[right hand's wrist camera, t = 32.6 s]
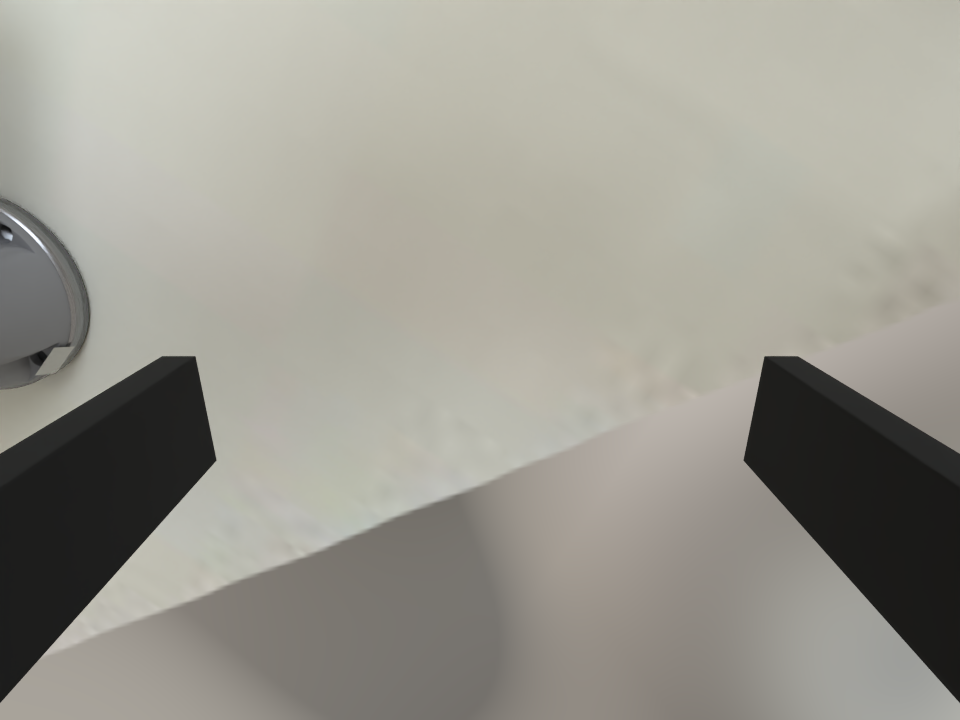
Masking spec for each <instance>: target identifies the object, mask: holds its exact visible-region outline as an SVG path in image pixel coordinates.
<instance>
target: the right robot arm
mask: <svg viewBox="0 0 960 720" xmlns="http://www.w3.org/2000/svg"><path fill="white" fill-rule="evenodd" d="M88 321H89V307H88V299H87V294H86V290H85V287H84V283H83V281H82V278H81V276H80V273H79V271H78V269H77V267H76V265H75V263H74V261H73V260H72V258H71V256H70V255H69V253H68V252H67V250H66V249H65V248H64V246H63V245H62V244H61V243H60V241H59V240H58V239H57V238H56V237H55V235H54V234H53V233H52V232H51V231H50V230H49V229H48V228H47V227H46V226H44V225H43V224H42V223H41V222H40V221H39V220H38V219H36V218H35V217H34V216H32V215H31V214H30V213H28V212H27V211H25V210H24V209H22V208H20V207H19V206H17V205H15V204H13V203H12V202H10V201H8V200H6V199H3V198H1V197H0V390H1V389H12V388H18V387H22V386H26V385H29V384H32V383H34V382H36V381H38V380H40V379H42V378H44V377H46V376H48V375H50V374H54V373H56V372H57V371H58V370H60V369H61V368H63V367H64V366H65V365H67V364H68V363H69V362H70V361H71V360H72V359H73V358H74V357H75V355H76V354H77V353H78V351H79V350H80V348H81V346H82V344H83V342H84V339H85V336H86V333H87V328H88ZM215 461H216V456H215V451H214V446H213V441H212V436H211V431H210V426H209V421H208V416H207V412H206V407H205V402H204V397H203V392H202V387H201V382H200V377H199V372H198V367H197V362H196V357H195V356H162V357H160V358H159V359H157V360H155V361H154V362H152V363H150V364H149V365H147V366H145V367H144V368H142V369H140V370H139V371H137V372H135V373H134V374H132V375H130V376H129V377H127V378H125V379H124V380H122V381H121V382H119V383H117V384H116V385H114V386H112V387H111V388H109V389H107V390H106V391H104V392H102V393H101V394H99V395H97V396H96V397H94V398H92V399H91V400H89V401H87V402H86V403H84V404H82V405H81V406H79V407H77V408H76V409H74V410H72V411H71V412H69V413H67V414H66V415H64V416H62V417H61V418H59V419H57V420H56V421H54V422H52V423H51V424H49V425H47V426H46V427H44V428H42V429H41V430H39V431H37V432H36V433H34V434H33V435H31V436H29V437H28V438H26V439H24V440H23V441H21V442H19V443H18V444H16V445H14V446H13V447H11V448H9V449H8V450H6V451H4V452H3V453H1V454H0V702H1V701H2V700H3V699H4V698H5V697H6V696H7V695H8V693H9V692H10V691H11V690H12V689H13V688H14V687H15V686H16V684H17V683H18V682H19V681H20V680H21V679H22V678H23V677H24V676H25V674H26V673H27V672H28V671H29V670H30V669H31V668H32V666H33V665H34V664H35V663H36V662H37V661H38V660H39V659H40V658H41V656H42V655H43V654H44V653H45V652H46V651H47V650H48V649H49V648H50V646H51V645H52V644H53V643H54V642H55V641H56V640H57V639H58V637H59V636H60V635H61V634H62V633H63V632H64V631H65V630H66V628H67V627H68V626H69V625H70V624H71V623H72V622H73V621H74V619H75V618H76V617H77V616H78V615H79V614H80V613H81V612H82V611H83V609H84V608H85V607H86V606H87V605H88V604H89V603H90V602H91V600H92V599H93V598H94V597H95V596H96V595H97V594H98V593H99V591H100V590H101V589H102V588H103V587H104V586H105V585H106V584H107V583H108V581H109V580H110V579H111V578H112V577H113V576H114V575H115V574H116V572H117V571H118V570H119V569H120V568H121V567H122V566H123V565H124V563H125V562H126V561H127V560H128V559H129V558H130V557H131V556H132V554H133V553H134V552H135V551H136V550H137V549H138V548H139V547H140V546H141V544H142V543H143V542H144V541H145V540H146V539H147V538H148V537H149V535H150V534H151V533H152V532H153V531H154V530H155V529H156V528H157V526H158V525H159V524H160V523H161V522H162V521H163V520H164V519H165V518H166V516H167V515H168V514H169V513H170V512H171V511H172V510H173V509H174V507H175V506H176V505H177V504H178V503H179V502H180V501H181V500H182V498H183V497H184V496H185V495H186V494H187V493H188V492H189V491H190V489H191V488H192V487H193V486H194V485H195V484H196V483H197V482H198V481H199V479H200V478H201V477H202V476H203V475H204V474H205V473H206V472H207V470H208V469H209V468H210V467H211V466H212V465H213V464H214V463H215ZM744 461H745V463H746V464H747V465H748V466H749V467H750V468H751V469H752V470H753V472H754V473H755V474H756V475H757V476H758V477H759V478H760V479H761V481H762V482H763V483H764V484H765V485H766V486H767V487H768V488H769V489H770V491H771V492H772V493H773V494H774V495H775V496H776V497H777V498H778V500H779V501H780V502H781V503H782V504H783V505H784V506H785V507H786V509H787V510H788V511H789V512H790V513H791V514H792V515H793V516H794V517H795V519H796V520H797V521H798V522H799V523H800V524H801V525H802V526H803V527H804V529H805V530H806V531H807V532H808V533H809V534H810V535H811V537H812V538H813V539H814V540H815V541H816V542H817V543H818V544H819V546H820V547H821V548H822V549H823V550H824V551H825V552H826V553H827V554H828V556H829V557H830V558H831V559H832V560H833V561H834V562H835V563H836V565H837V566H838V567H839V568H840V569H841V570H842V571H843V572H844V574H845V575H846V576H847V577H848V578H849V579H850V580H851V581H852V583H853V584H854V585H855V586H856V587H857V588H858V589H859V590H860V591H861V593H862V594H863V595H864V596H865V597H866V598H867V599H868V600H869V602H870V603H871V604H872V605H873V606H874V607H875V608H876V609H877V610H878V612H879V613H880V614H881V615H882V616H883V617H884V618H885V619H886V621H887V622H888V623H889V624H890V625H891V626H892V627H893V628H894V630H895V631H896V632H897V633H898V634H899V635H900V636H901V637H902V639H903V640H904V641H905V642H906V643H907V644H908V645H909V646H910V648H911V649H912V650H913V651H914V652H915V653H916V654H917V655H918V656H919V658H920V659H921V660H922V661H923V662H924V663H925V664H926V665H927V667H928V668H929V669H930V670H931V671H932V672H933V673H934V674H935V675H936V677H937V678H938V679H939V680H940V681H941V682H942V683H943V684H944V686H945V687H946V688H947V689H948V690H949V691H950V692H951V693H952V695H953V696H954V697H955V698H956V699H957V700H958V701H959V702H960V454H959V453H957V452H956V451H954V450H952V449H951V448H949V447H947V446H946V445H944V444H942V443H941V442H939V441H937V440H936V439H934V438H932V437H931V436H929V435H927V434H926V433H924V432H922V431H921V430H919V429H918V428H916V427H914V426H912V425H911V424H909V423H908V422H906V421H904V420H903V419H901V418H899V417H898V416H896V415H894V414H893V413H891V412H889V411H888V410H886V409H884V408H883V407H881V406H879V405H878V404H876V403H874V402H873V401H871V400H869V399H868V398H866V397H864V396H863V395H861V394H859V393H858V392H856V391H854V390H853V389H851V388H849V387H848V386H846V385H844V384H843V383H841V382H839V381H838V380H836V379H835V378H833V377H831V376H830V375H828V374H826V373H824V372H823V371H821V370H820V369H818V368H816V367H815V366H813V365H811V364H810V363H808V362H806V361H805V360H803V359H801V358H800V357H798V356H765V357H764V362H763V367H762V372H761V377H760V382H759V387H758V392H757V397H756V402H755V407H754V412H753V417H752V421H751V427H750V431H749V436H748V442H747V446H746V451H745V456H744Z"/></svg>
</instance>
